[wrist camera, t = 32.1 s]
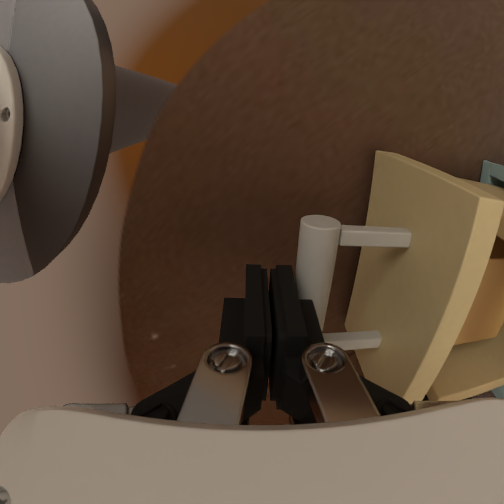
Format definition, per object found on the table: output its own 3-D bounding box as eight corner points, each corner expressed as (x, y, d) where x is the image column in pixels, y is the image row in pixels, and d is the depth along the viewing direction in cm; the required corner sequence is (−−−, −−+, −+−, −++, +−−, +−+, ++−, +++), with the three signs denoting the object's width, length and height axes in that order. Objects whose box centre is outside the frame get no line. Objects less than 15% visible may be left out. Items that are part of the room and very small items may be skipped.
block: (398, 294, 16) (434, 348, 12) (418, 216, 14) (470, 258, 10) (457, 291, 16) (496, 336, 12) (478, 222, 14) (529, 259, 10)
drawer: (274, 326, 18) (287, 442, 11) (287, 141, 13) (335, 178, 6) (477, 313, 18) (530, 382, 11) (518, 180, 14) (603, 226, 7)
